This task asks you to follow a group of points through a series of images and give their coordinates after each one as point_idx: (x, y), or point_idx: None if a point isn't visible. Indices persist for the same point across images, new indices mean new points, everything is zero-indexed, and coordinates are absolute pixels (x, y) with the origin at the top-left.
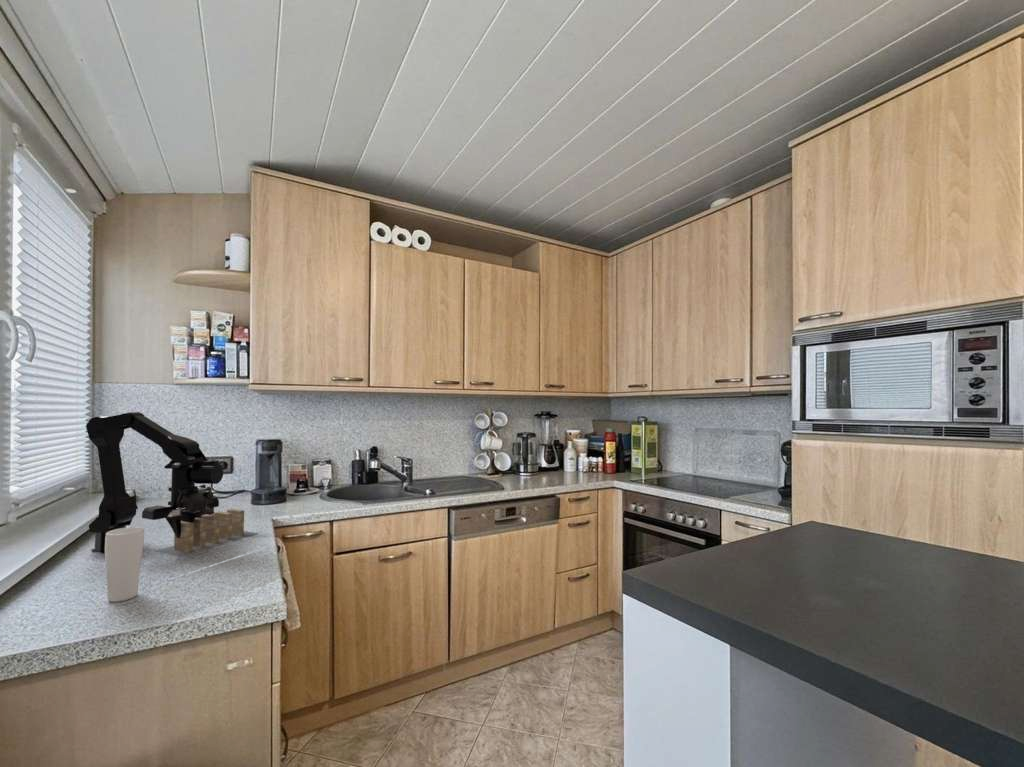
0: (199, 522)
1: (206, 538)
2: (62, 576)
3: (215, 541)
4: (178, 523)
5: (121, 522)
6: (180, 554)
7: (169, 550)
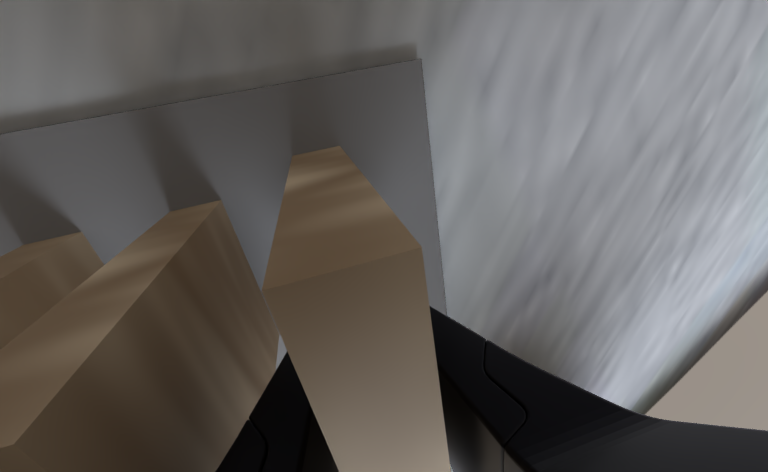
0: (84, 413)
1: None
2: (758, 234)
3: (48, 244)
4: (518, 395)
5: None
6: (395, 121)
7: None
